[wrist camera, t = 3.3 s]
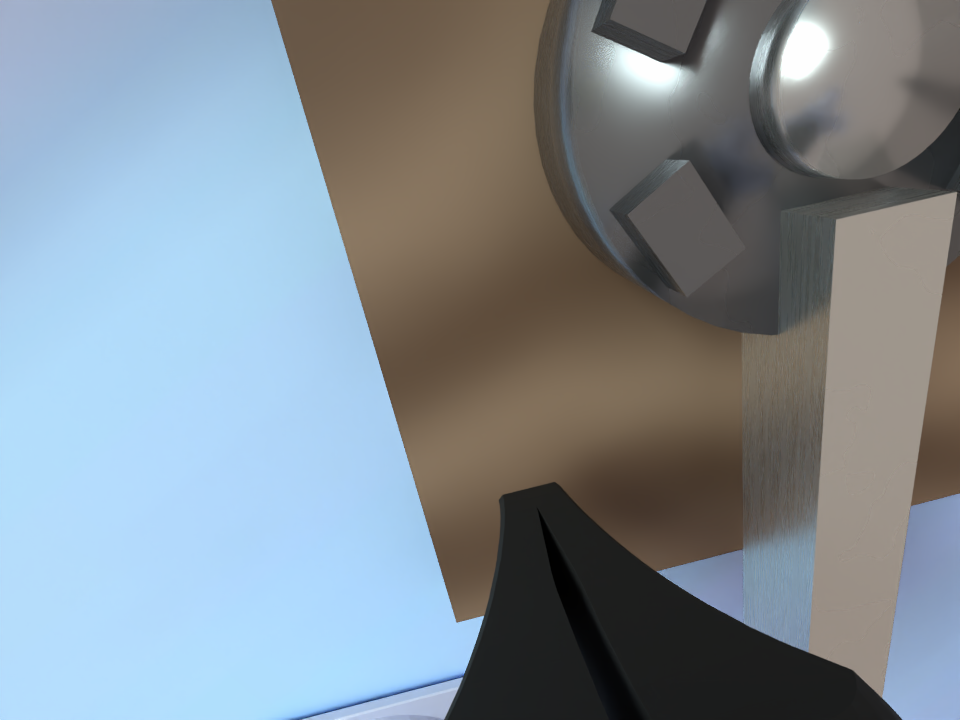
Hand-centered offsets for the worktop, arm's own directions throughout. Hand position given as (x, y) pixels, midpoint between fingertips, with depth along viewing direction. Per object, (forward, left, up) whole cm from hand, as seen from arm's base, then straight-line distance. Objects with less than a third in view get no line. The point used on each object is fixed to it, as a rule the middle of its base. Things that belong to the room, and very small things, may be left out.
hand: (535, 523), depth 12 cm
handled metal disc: (+3, -6, -2) cm, 7 cm away
